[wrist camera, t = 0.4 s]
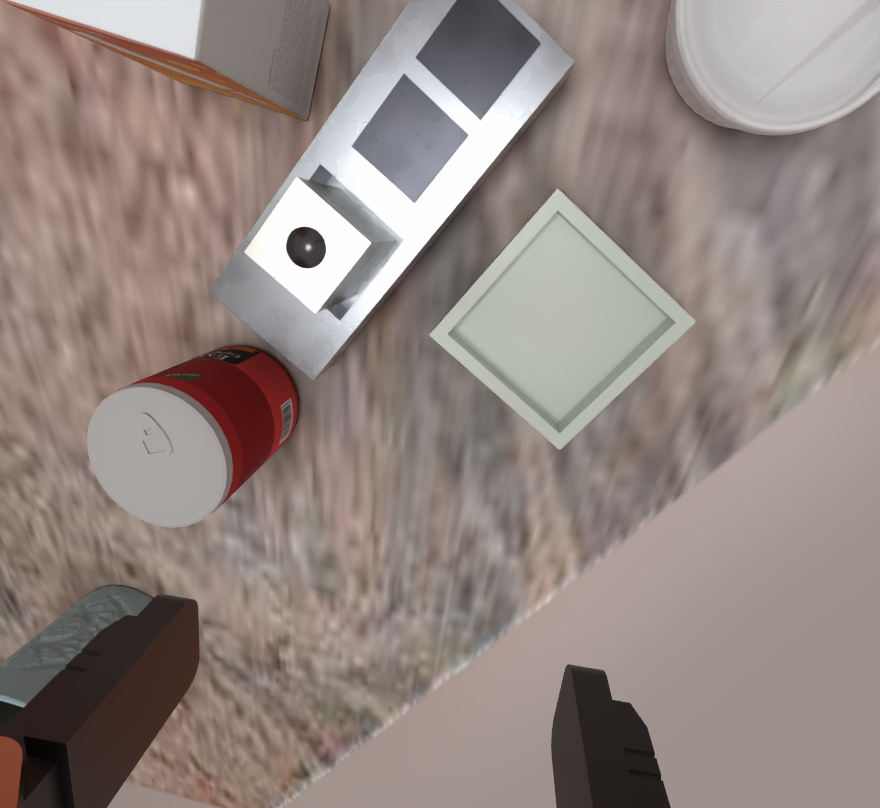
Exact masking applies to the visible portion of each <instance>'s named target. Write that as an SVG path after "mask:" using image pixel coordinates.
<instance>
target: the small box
mask: <svg viewBox="0 0 880 808" xmlns="http://www.w3.org/2000/svg"><path fill="white" fill-rule="evenodd" d="M2 1H4V2H6V3H8V4H11V5H13V6H15V7H17V8H20V9H22V10H24V11H27V12H29V13H31V14H33V15H35V16H38V17H40V18H42V19H44V20H46V21H49V22H51V23H53V24H55V25H58V26H60V27H62V28H64V29H66V30H68V31H71V32H73V33H75V34H77V35H79V36H81V37H83V38H86V39H88V40H90V41H92V42H94V43H97V44H99V45H101V46H103V47H105V48H107V49H110V50H112V51H114V52H116V53H119V54H121V55H123V56H125V57H128V58H130V59H132V60H134V61H136V62H139V63H141V64H143V65H145V66H147V67H149V68H151V69H153V70H155V71H157V72H159V73H161V74H163V75H166V76H168V77H170V78H172V79H174V80H177V81H179V82H181V83H184V84H187V85H191V86H195V87H199V88H203V89H206V90H210V91H214V92H217V93H220V94H223V95H226V96H230V97H233V98H236V99H240V100H243V101H246V102H249V103H252V104H256V105H259V106H262V107H265V108H268V109H271V110H274V111H277V112H280V113H283V114H286V115H289V116H292V117H295V118H298V119H301V120H304V121H306V120H307V119H308V117H309V111H310V106H311V100H312V95H313V90H314V85H315V80H316V74H317V69H318V64H319V59H320V54H321V49H322V44H323V39H324V34H325V28H326V22H327V18H328V13H329V4H328V2H327V1H326V0H2Z"/></svg>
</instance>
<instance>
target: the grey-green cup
mask: <svg viewBox="0 0 880 808" xmlns="http://www.w3.org/2000/svg"><path fill="white" fill-rule="evenodd" d="M152 600H153V599H152V597H151V596H148V595H147V594H145V593H143V592H141V591H138V590H136V589H133V588H130V587H126V586H120V585H109V586H105V587H101V588H99V589H97V590H94V591H92V592H91V593H89V594H88V595H86V596H85V597H84V598H83V599H81V600H80V601H79V602H78V603H76V604H75V605H74V606H73V607H72V608H70V609H69V610H68V611H67V612H66V613H65V614H63V615H62V616H61V617H60V618H58V619H57V620H55V621H54V622H53V623H52V624H50V625H49V626H47V627H46V628H45V629H44V630H43V631H42V632H41V633H40V634H38V635H36V636H35V637H33V638H32V640H31V641H30V642H28V643H26V644H25V645H24V646H22V647H21V648H20V649H19V650H18V651H16V652H15V653H14V654H13V655H11V656H10V657H9V658H8V659H7V660H5V661H4V663H3V665H2V667H0V730H1V729H2V728H3V727H4V726H5V725H6V724H7V723H8V722H9V721H11V720H12V719H13V718H14V717H15V716H16V715H17V714H18V713H19V712H20V711H21V710H22V709H23V708H24V707H25V706H26V705H27V704H28V703H29V702H30V701H31V700H32V699H33V698H34V697H35V696H36V695H37V694H38V693H39V692H40V691H41V690H42V689H43V688H44V687H45V686H46V685H47V684H48V683H49V682H50V681H51V680H52V679H53V678H54V677H55V676H56V675H57V674H58V673H59V672H60V671H61V670H64V669H65V667H66V665H67V664H68V663H69V662H70V661H71V660H72V659H73V658H74V657H75V656H76V655H77V654H78V653H81V652H82V649H83V648H84V647H85V646H86V645H87V644H88V643H89V642H90V641H91V640H92V639H93V638H94V637H95V636H96V635H97V634H98V633H99V632H100V631H101V630H102V629H104V628H106V627H107V626H109V625H111V624H113V623H114V622H116V621H118V620H119V619H121V618H123V617H125V616H126V615H132V616H137V615H138V614H139V613H140V612H141V611H142V610H143V609H144V608H145V607H146V606H147V605H148V604H149V603H150V602H151V601H152Z"/></svg>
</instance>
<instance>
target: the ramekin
mask: <svg viewBox="0 0 880 808" xmlns="http://www.w3.org/2000/svg"><path fill="white" fill-rule="evenodd" d="M665 36H666V41H665V50H666V61H667V65H668V71H669V73H670V75H671V78H672V82H673V84H674V86H675V87H676V89H677V91H678V93H679V95H680V96H681V97H682V98H683V100H684V101H685V103H686V104H687V105H688V106H689V107H690V108H692V109H693V111H694V112H695V113H697V114H699V115H700V116H702V117H703V118H704V119H705V120H708V121H711V122H712V123H714V124H716V125H720V126H723V127H725V128H734V129H738V130H742V131H745V132H748V133H753V134H759V135H773V136H775V135H790V134H797V133H802V132H806V131H809V130H813V129H816V128H819V127H822V126H825V125H827V124H830V123H832V122H835V121H837V120H839V119H840V118H842V117H844V116H846V115H848V114H850V113H851V112H853V111H855V110H856V109H858V108H859V107H860V106H861V105H863V104H864V103H866V102H867V101H869V100H870V99H871V98H872V97H874V96H875V95H876V94H877V93H878V92H880V0H672V1H671V5H670V10H669V13H668V17H667V27H666V30H665Z"/></svg>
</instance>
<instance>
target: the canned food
mask: <svg viewBox="0 0 880 808" xmlns="http://www.w3.org/2000/svg"><path fill="white" fill-rule="evenodd" d="M297 412H298V400H297V394H296V390H295V387H294V385H293V383H292V380H291V378H290V377H289V375H288V374H287V372H286V371H285V369H284V368H283V367H282V366H281V365H280V364H279V363H278V362H277V361H276V360H275V359H273V358H272V357H270V356H269V355H268V354H266V353H263V352H261V351H259V350H257V349H253V348H249V347H244V346H226V347H221V348H219V349H216V350H214V351H211V352H209V353H206V354H204V355H201V356H199V357H196V358H194V359H191V360H189V361H186V362H184V363H182V364H179V365H177V366H174V367H172V368H169V369H167V370H164V371H162V372H159V373H157V374H154V375H152V376H150V377H147V378H145V379H142V380H140V381H137V382H135V383H132V384H131V385H129V386H126V387H124V388H122V389H119V390H118V391H116V392H115V393H113V394H111V395H110V396H109V397H107V398H106V399H105V400H103V401H102V402H101V404H100V405H99V406H98V407H97V409H96V410H95V411H94V414H93V416H92V418H91V420H90V423H89V428H88V433H87V449H88V454H89V459H90V463H91V465H92V468H93V470H94V473H95V475H96V477H97V479H98V480H99V482H100V484H101V485H102V487H103V488H104V490H105V491H106V492H107V493H108V495H109V496H110V497H111V498H112V499H113V500H114V501H115V502H116V503H117V504H118V505H119V506H120V507H122V508H123V509H124V510H126V511H127V512H129V513H130V514H132V515H133V516H135V517H137V518H139V519H141V520H143V521H145V522H147V523H151V524H154V525H158V526H163V527H182V526H188V525H191V524H194V523H197V522H199V521H201V520H202V519H204V518H206V517H207V516H209V515H210V514H211V513H213V512H214V511H215V510H216V509H217V508H218V507H220V506H221V505H222V504H223V503H224V502H225V501H226V500H227V499H228V498H229V497H230V496H231V495H232V494H233V493H234V492H235V491H236V490H237V489H238V488H239V487H240V486H241V485H242V484H243V483H244V482H245V481H246V480H247V479H248V478H249V477H250V476H251V475H252V474H253V473H254V472H255V471H256V470H257V469H258V468H259V467H260V466H262V465H263V464H264V463H265V462H266V461H267V460H268V459H269V458H270V457H271V456H272V455H273V454H274V453H275V452H276V451H277V450H278V449H279V448H280V447H281V446H282V445H283V444H284V443H285V442H286V441H287V440H288V438H289V436H290V435H291V433H292V431H293V429H294V426H295V423H296V419H297Z"/></svg>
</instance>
